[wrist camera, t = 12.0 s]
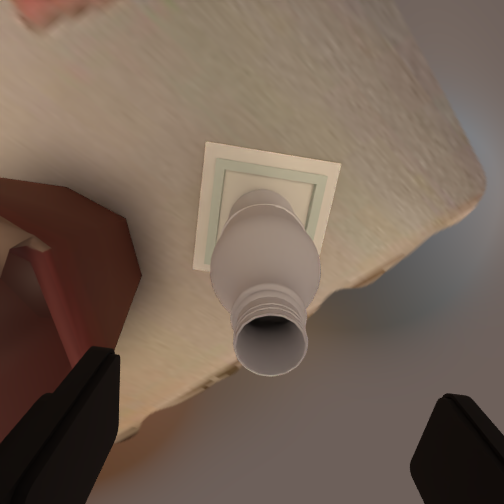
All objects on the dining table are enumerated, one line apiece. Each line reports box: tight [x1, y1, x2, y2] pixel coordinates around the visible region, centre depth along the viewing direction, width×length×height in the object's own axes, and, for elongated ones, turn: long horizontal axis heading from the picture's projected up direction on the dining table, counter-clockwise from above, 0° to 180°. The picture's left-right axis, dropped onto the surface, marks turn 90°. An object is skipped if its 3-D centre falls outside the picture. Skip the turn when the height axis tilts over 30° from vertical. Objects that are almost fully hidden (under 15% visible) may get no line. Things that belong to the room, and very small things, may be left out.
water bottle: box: [210, 189, 321, 377], centre depth 24 cm, size 7×7×25 cm
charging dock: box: [193, 141, 341, 272], centre depth 36 cm, size 15×15×2 cm
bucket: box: [0, 178, 142, 443], centre depth 27 cm, size 24×22×25 cm
